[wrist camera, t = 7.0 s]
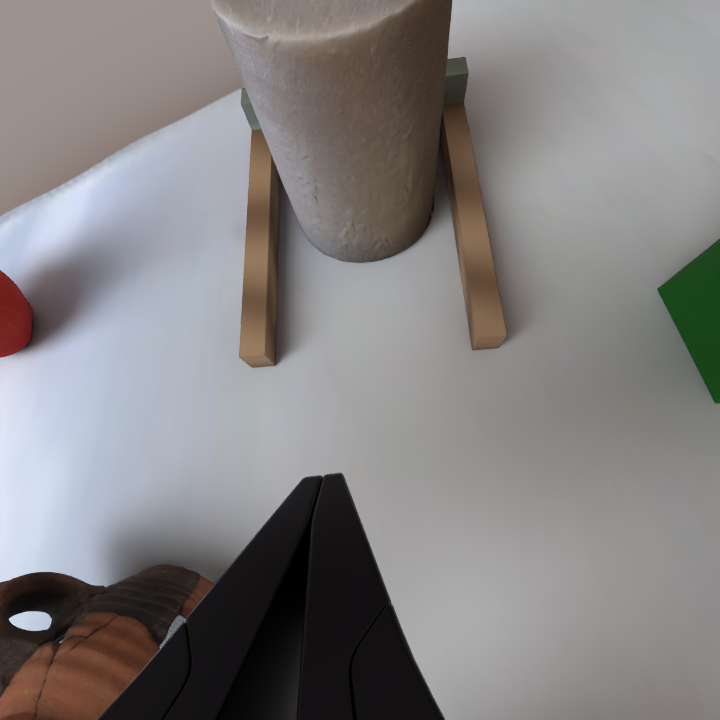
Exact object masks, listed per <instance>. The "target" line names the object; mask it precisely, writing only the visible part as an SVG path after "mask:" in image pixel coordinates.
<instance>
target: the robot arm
mask: <svg viewBox="0 0 720 720" xmlns="http://www.w3.org/2000/svg"><path fill="white" fill-rule="evenodd" d="M97 720H445V718H444V716H443V714H442V712H441V711H440V709H439V707H438V705H437V703H436V701H435V699H434V697H433V696H432V693H431V691H430V689H429V687H428V685H427V683H426V681H425V679H424V677H423V675H422V673H421V671H420V669H419V667H418V665H417V663H416V661H415V659H414V657H413V655H412V652H411V650H410V647H409V645H408V643H407V640H406V638H405V635H404V633H403V631H402V628H401V626H400V623H399V620H398V618H397V615H396V612H395V610H394V607H393V605H392V604H391V600H390V597H389V595H388V592H387V589H386V587H385V584H384V581H383V579H382V576H381V573H380V571H379V568H378V565H377V563H376V560H375V557H374V555H373V552H372V549H371V547H370V544H369V541H368V539H367V536H366V533H365V531H364V528H363V525H362V523H361V520H360V517H359V515H358V512H357V509H356V507H355V504H354V502H353V499H352V496H351V494H350V491H349V488H348V486H347V483H346V480H345V478H344V475H343V474H342V473H334V474H327V475H325V476H324V477H323V476H321V475H318V476H310V477H305V478H303V479H302V480H301V481H300V483H299V484H298V485H297V486H296V487H295V489H294V490H293V491H292V492H291V493H290V495H289V496H288V497H287V498H286V499H285V501H284V502H283V503H282V504H281V505H280V507H279V508H278V509H277V510H276V511H275V513H274V514H273V515H272V516H271V517H270V519H269V520H268V521H267V522H266V523H265V525H264V526H263V527H262V528H261V529H260V531H259V532H258V533H257V534H256V535H255V537H254V538H253V539H252V540H251V541H250V543H249V544H248V545H247V546H246V547H245V549H244V550H243V551H242V552H241V553H240V555H239V556H238V557H237V558H236V559H235V561H234V562H233V563H232V564H231V565H230V567H229V568H228V569H227V570H226V571H225V573H224V574H223V575H222V576H221V577H220V578H219V580H218V581H217V582H216V583H215V584H214V586H213V587H212V588H211V589H210V590H209V592H208V593H207V594H206V595H205V596H204V598H203V599H202V600H201V601H200V602H199V604H198V605H197V606H196V607H195V608H194V610H193V611H192V612H191V613H190V614H189V616H188V617H187V618H186V623H182V624H181V625H180V626H179V627H178V629H177V630H176V631H175V632H174V633H173V635H172V636H171V637H170V638H169V639H168V641H167V642H166V643H165V644H164V645H163V646H162V648H161V649H160V650H159V651H158V652H157V653H156V655H155V656H154V657H153V658H152V659H151V660H150V662H149V663H148V664H147V665H146V666H145V667H144V668H143V670H142V671H141V672H140V673H139V674H138V675H137V677H136V678H135V679H134V680H133V681H132V682H131V683H130V684H129V685H128V686H127V687H126V688H125V690H124V691H123V692H122V693H121V694H120V695H119V696H118V697H117V698H116V699H115V700H114V701H113V703H112V704H111V705H110V706H109V707H108V708H107V709H106V710H105V711H104V712H103V713H102V714H101V715H100V717H99V718H98V719H97Z"/></svg>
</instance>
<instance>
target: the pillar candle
mask: <svg viewBox="0 0 720 720" xmlns="http://www.w3.org/2000/svg"><path fill="white" fill-rule="evenodd" d="M210 2H211V3H210V6H211V8H212V9H213V11H214V13H215V16H216V18H217V20H218V23H219V25H220V27H221V30H222V32H223V34H224V36H225V39H226V42H227V44H228V46H229V49H230V51H231V53H232V56H233V58H234V61H235V63H236V66H237V68H238V70H239V73H240V76H241V78H242V81H243V83H244V86H245V89H246V91H247V94H248V96H249V99H250V101H251V104H252V106H253V109H254V111H255V114H256V116H257V119H258V121H259V124H260V126H261V129H262V132H263V134H264V136H265V139H266V142H267V144H268V147H269V149H270V152H271V154H272V157H273V160H274V162H275V164H276V167H277V170H278V172H279V175H280V178H281V180H282V183H283V185H284V188H285V190H286V192H287V195H288V197H289V200H290V202H291V204H292V207H293V209H294V212H295V214H296V217H297V219H298V221H299V224H300V226H301V228H302V230H303V232H304V234H305V235H306V237H307V238H308V240H309V241H310V242H311V243H312V245H314V246H315V247H316V248H317V249H318V250H320V251H321V252H322V253H324V254H326V255H328V256H331V257H333V258H335V259H338V260H341V261H346V262H357V263H364V262H372V261H377V260H382V259H384V258H388V257H390V256H393V255H395V254H396V253H398V252H400V251H402V250H404V249H406V248H407V247H409V246H410V245H411V244H413V243H414V242H415V241H416V240H418V239H419V238H420V237H421V236H422V234H423V233H424V231H425V230H426V229H427V226H428V225H429V222H430V220H431V218H432V215H431V214H432V213H433V210H434V185H435V180H436V177H437V158H438V148H439V137H440V125H441V117H442V110H443V102H444V87H445V77H446V68H447V56H448V42H449V30H450V21H451V10H452V0H210Z"/></svg>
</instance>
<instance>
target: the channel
mask: <svg viewBox="0 0 720 720" xmlns="http://www.w3.org/2000/svg"><path fill="white" fill-rule="evenodd" d="M467 79H468V68H467V63H466V58H465V57H461V58H454V59H447V68H446V77H445V87H444V102H443V110H442V117H441V125H440V141H441V147H442V154H443V160H444V167H445V174H446V180H447V187H448V193H449V200H450V206H451V213H452V220H453V226H454V233H455V239H456V246H457V253H458V259H459V266H460V272H461V279H462V285H463V292H464V299H465V305H466V312H467V318H468V325H469V332H470V338H471V345H472V350H480V349H493V348H499V346H500V345H501V343H502V342H503V340H504V339H505V337H506V336H507V334H506V328H505V323H504V318H503V312H502V307H501V301H500V296H499V291H498V285H497V280H496V274H495V269H494V264H493V258H492V253H491V247H490V242H489V237H488V231H487V226H486V220H485V215H484V210H483V204H482V199H481V193H480V188H479V183H478V177H477V172H476V166H475V161H474V155H473V150H472V145H471V139H470V134H469V128H468V123H467V118H466V112H465V107H464V98H465V92H466V86H467ZM241 105H242V108H243V110H244V113H245V115H246V117H247V120H248V122H249V125H250V127H251V129H252V135H251V153H250V171H249V189H248V207H247V225H246V243H245V261H244V279H243V297H242V315H241V333H240V351H239V357H240V358H241V359H242V360H243V361H244V362H246V363H247V364H248V365H249V366H251V367H252V368H253V367H265V366H275V360H276V318H277V275H278V232H279V189H280V175H279V172H278V170H277V167H276V164H275V162H274V160H273V157H272V154H271V152H270V149H269V147H268V144H267V142H266V139H265V136H264V134H263V132H262V129H261V126H260V124H259V121H258V119H257V116H256V114H255V111H254V109H253V106H252V104H251V101H250V99H249V96H248V94H247V91H246V89H245V88H242V95H241Z"/></svg>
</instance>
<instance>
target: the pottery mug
mask: <svg viewBox="0 0 720 720" xmlns="http://www.w3.org/2000/svg"><path fill="white" fill-rule="evenodd" d="M213 586H214V584H213V583H212V582H210V581H208V580H207V579H206V578H204V577H201V576H200V575H199V574H198V573H196V572H193V571H191V570H188V569H185V568H184V567H178V566H171V565H159V566H155V567H152V568H149V569H147V570H144V571H142V572H140V573H138V574H137V575H135V576H132V577H130V578H127V579H125V580H123V581H120V582H118V583H116V584H114V585H110V586H108V587H106V588H105V587H104V586H94V585H90V584H87V583H85V582H83V581H81V580H79V579H76V578H74V577H72V576H68V575H65V574H60V573H54V572H37V573H30V574H26V575H23V576H20V577H17V578H13V579H11V580H9V581H5V582H1V583H0V720H97V719H98V718H99V717H100V715H101V714H102V713H103V712H104V711H105V710H106V709H107V708H108V707H109V706H110V705H111V704H112V703H113V701H114V700H115V699H116V698H117V697H118V696H119V695H120V694H121V693H122V692H123V691H124V690H125V688H126V687H127V686H128V685H129V684H130V683H131V682H132V681H133V680H134V679H135V678H136V677H137V675H138V674H139V673H140V672H141V671H142V670H143V668H144V667H145V666H146V665H147V664H148V663H149V662H150V660H151V659H152V658H153V657H154V656H155V655H156V653H157V652H158V651H159V650H160V648H159V646H160V644H161V643H162V642H163V641H164V639H165V638H166V635H167V632H168V630H169V628H170V626H171V624H172V623H173V621H174V619H175V618H176V617H177V616H178V615H181V616H182V617H184V618H187V617H188V616H189V614H190V613H191V612H192V611H193V610H194V608H195V607H196V606H197V605H198V604H199V602H200V601H201V600H202V599H203V598H204V596H205V595H206V594H207V593H208V592H209V590H210V589H211V588H212V587H213ZM26 611H41V612H45V613H47V614H49V615H50V617H51V618H52V622H51V626H50V627H49V629H47V630H42V631H28V630H24V629H20V628H18V627H16V626H14V625H13V624H11V623H10V621H9V618H10V617H12V616H13V615H16V614H19V613H22V612H26ZM60 641H62V642H61V643H59V642H60Z"/></svg>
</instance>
